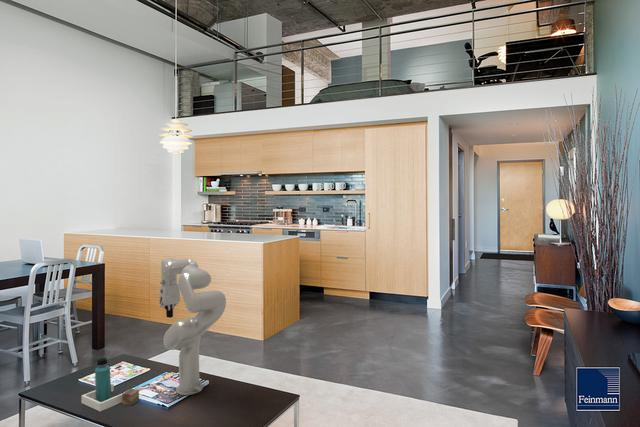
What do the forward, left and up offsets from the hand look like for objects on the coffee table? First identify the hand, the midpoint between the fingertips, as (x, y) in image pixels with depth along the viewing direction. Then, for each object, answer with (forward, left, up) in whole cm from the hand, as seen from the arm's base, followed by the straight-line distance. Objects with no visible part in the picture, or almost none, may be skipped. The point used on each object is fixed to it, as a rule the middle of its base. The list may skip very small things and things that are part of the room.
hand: (169, 317), depth 220 cm
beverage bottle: (+4, +34, -32) cm, 47 cm away
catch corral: (+4, +33, -32) cm, 46 cm away
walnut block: (-7, +28, -32) cm, 43 cm away
